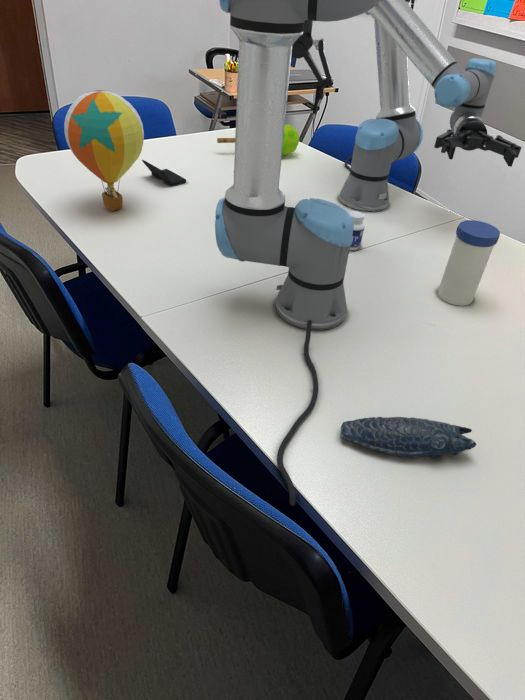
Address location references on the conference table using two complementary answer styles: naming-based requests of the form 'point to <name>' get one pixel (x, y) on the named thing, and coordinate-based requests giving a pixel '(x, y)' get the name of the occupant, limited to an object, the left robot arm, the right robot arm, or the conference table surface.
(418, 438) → the fish model
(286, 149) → the decorative tree
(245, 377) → the conference table surface
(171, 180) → the black angled piece
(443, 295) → the jar
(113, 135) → the toy
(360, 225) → the pill bottle
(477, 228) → the lid
